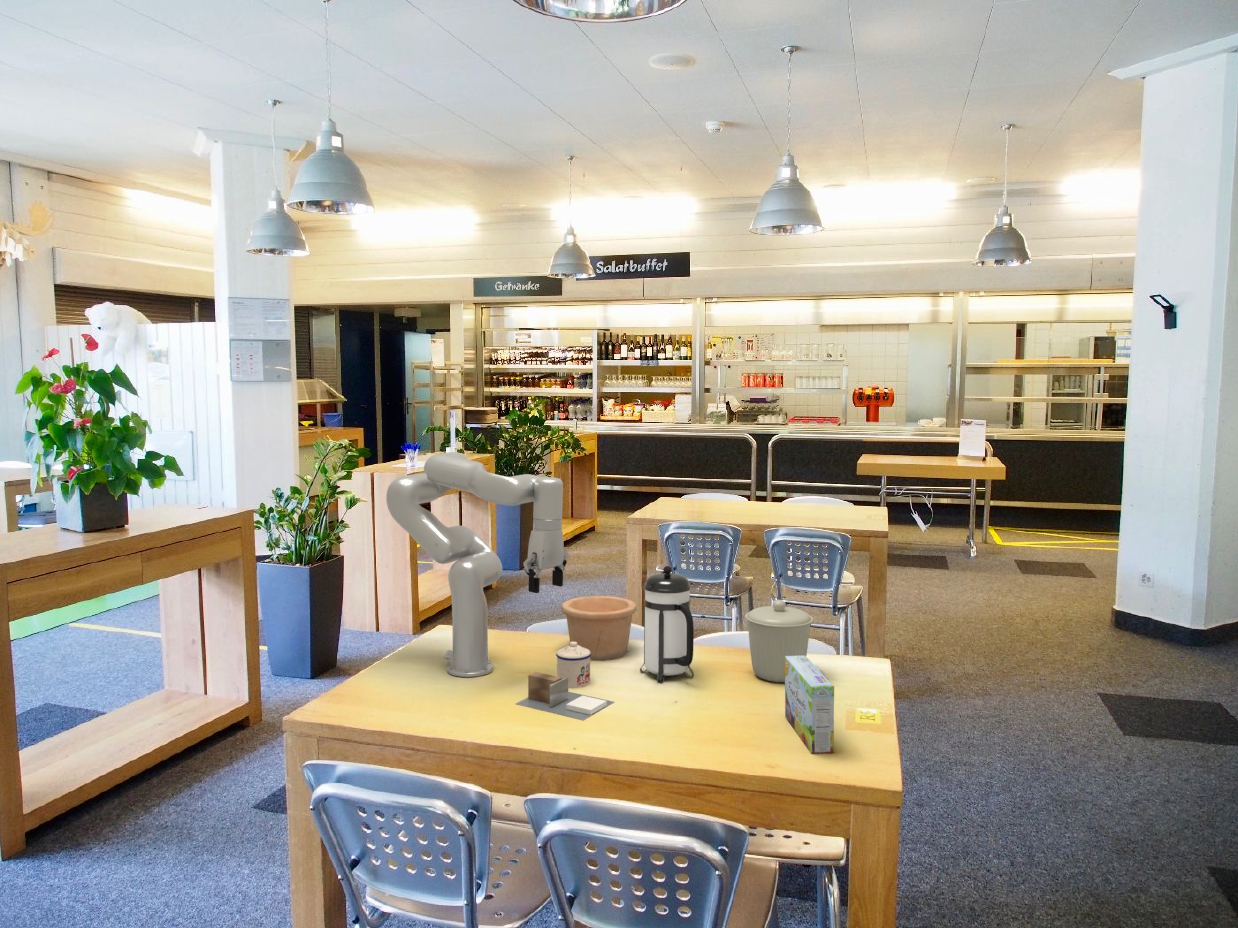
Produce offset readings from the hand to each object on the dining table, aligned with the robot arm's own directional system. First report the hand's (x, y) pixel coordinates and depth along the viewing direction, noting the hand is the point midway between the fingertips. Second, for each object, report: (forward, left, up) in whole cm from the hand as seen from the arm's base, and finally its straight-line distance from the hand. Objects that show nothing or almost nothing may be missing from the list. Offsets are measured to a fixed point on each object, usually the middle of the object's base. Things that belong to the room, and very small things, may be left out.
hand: (545, 588), depth 226 cm
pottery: (-2, +29, -25) cm, 39 cm away
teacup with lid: (+8, +2, -25) cm, 27 cm away
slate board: (+15, -13, -25) cm, 32 cm away
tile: (+18, -13, -23) cm, 32 cm away
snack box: (+71, +2, -25) cm, 75 cm away
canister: (+51, +36, -25) cm, 67 cm away
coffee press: (+26, +21, -25) cm, 42 cm away
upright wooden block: (+10, -14, -24) cm, 29 cm away
